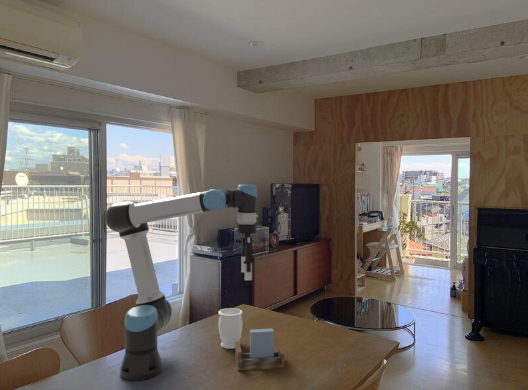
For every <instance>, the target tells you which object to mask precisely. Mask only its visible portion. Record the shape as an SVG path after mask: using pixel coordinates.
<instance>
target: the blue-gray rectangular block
mask: <svg viewBox="0 0 528 390" xmlns="http://www.w3.org/2000/svg"><path fill="white" fill-rule="evenodd" d="M274 334H275V333H274V329H273V328H260V329H259V328H258V329H257V328H256V329H249V353H250V359H252V358H267V357H274V351H275V350H274V349H275V348H274V345H275V343H274V342H275V341H274V339H275V335H274Z"/></svg>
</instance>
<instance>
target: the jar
mask: <svg viewBox="0 0 528 390" xmlns="http://www.w3.org/2000/svg"><path fill="white" fill-rule="evenodd" d="M242 315H243V310H242V309H239V308H234V307H229V308H226V307H225V308H222V309H219V310H218V316H219V317H218V333H219V339H220V341H221V343H220V346H221V347H222V348H224V349H227V350H228V349H231V350H232V349H235V347H236V342H239V343H240V341H241V338H242V331H243V317H242ZM240 344H241V343H240Z"/></svg>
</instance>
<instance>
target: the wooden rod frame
mask: <svg viewBox="0 0 528 390" xmlns="http://www.w3.org/2000/svg"><path fill="white" fill-rule="evenodd" d="M239 342H240V341H239ZM239 342H236V347H235V348H234V350H235V356H234V357H235V363H236V368H237V371H238V372H239V371H240V372H241V371H250V370H251V371H253V370H266V369H267V370H268V369H278V368H279V369H280V368H285V353H284V351H283V348H281V347H282V346H281V345H280V344H279V343H278V344H276V350H274V357H267V358H252V359H250V352H244V353H243V352H242V348H241V343H239Z"/></svg>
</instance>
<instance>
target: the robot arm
mask: <svg viewBox="0 0 528 390" xmlns="http://www.w3.org/2000/svg"><path fill="white" fill-rule="evenodd" d="M257 202H258V190H257V186H256V185H255V184H238V186H237V188H235V189H229V188H227V189H226V188H225V189H224V188H212V189H209V190H205V191H202V192H201V191H200V192H196V193H190V194H185V195H184V194H183V195H179V196H173V197H168V198H162V199H158V200H152V201H146V202H142V203H141V202H139V201H135V200H129V201H122V202H116V203H113V204H112V205H110V206H109V207H108V208H107V210H106V211H105V214H104V221H105V224H106V226H107V227H108V228H109V229H110V230H111V231H113V232H115V233H118V234H119V238H121V239H122V240H124V243H125V247H126V251H127V254H128V255H127V256H128V258H129V262H130V268H131V270H132V276H133V278H134V283H135V284H134V285H135V287H136V291H137V296H138V297H137V299H136V301H135V304H136V306H135V307H131V308H130V309H128V311H126V313H125V316H124V355H123V358H122V362H121V364H120V367H119V369H120V370H119V375H120V377H121V378H122V379H124V380H127V381H132V382H133V381H145V380H149V379H152V378H155V377H156V376H158V375H160V373H161V372H162V370H163V361H162V358H161V356H160V352H159V350H158V334H159V333H160V332H161V330H162V329H163V328H165V327H166V326H167V325H168V324H169V322H170V320H171V318H172V315H173V307H172V304H171V303H170V301H169V300H167V299H166V295H165V293H164V292H163V291H161V290H160V287H159V282H158V278H157V273H156V270H155V264H154V261H153V257H152V254H151V250H150V245H149V242H148V241H149V240H148V237H147V235H148V233H149V231H150V229H149V224H148V223H154V222H158V221H159V222H160V221H163V220H168V219H174V218H179V217H185V216H189V215H197V214H202V213H209V212H216V211H220V210H222V209H237V222H238V223H237V233H238V234H241V239H240V240H241V249H240V256H241V260H240V261H241V263H240V265H241V266H240V268H241V270H240V272H241V273H244V281H253V262H254V260H253V237H252V234H254V235H255V234H256V233H257V224H256V223H257V218H258V217H259V215H258V214H257V210H258V209H257V208H258V207H257V205H258V203H257Z"/></svg>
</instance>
